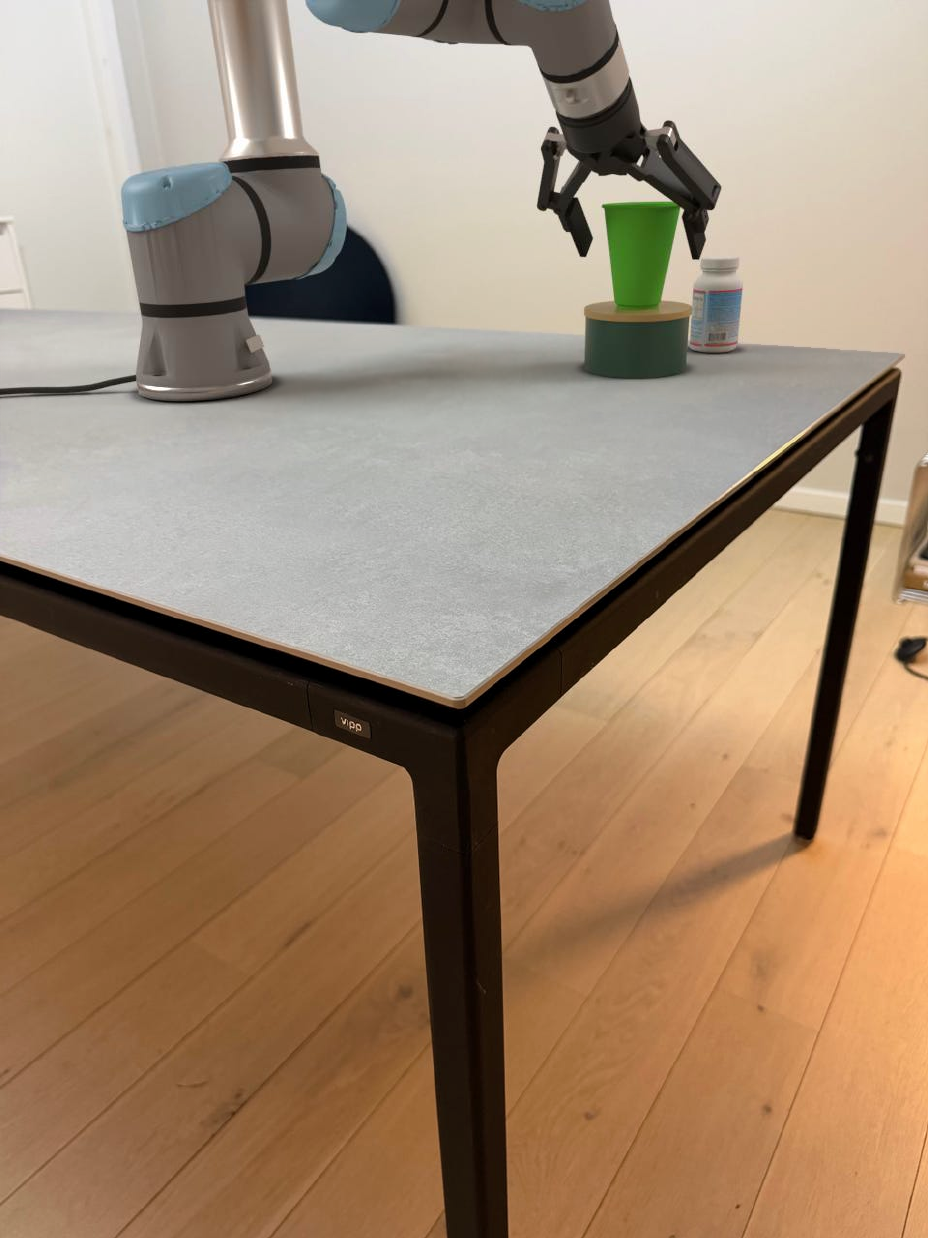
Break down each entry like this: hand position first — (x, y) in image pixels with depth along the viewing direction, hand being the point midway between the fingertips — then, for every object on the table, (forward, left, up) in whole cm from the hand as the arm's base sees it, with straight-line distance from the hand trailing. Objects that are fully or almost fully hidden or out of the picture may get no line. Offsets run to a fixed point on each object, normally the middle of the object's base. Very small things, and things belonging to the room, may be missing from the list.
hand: (641, 248), depth 105 cm
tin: (0, -1, -13) cm, 13 cm away
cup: (-1, -1, -6) cm, 7 cm away
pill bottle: (+14, +6, -13) cm, 20 cm away
